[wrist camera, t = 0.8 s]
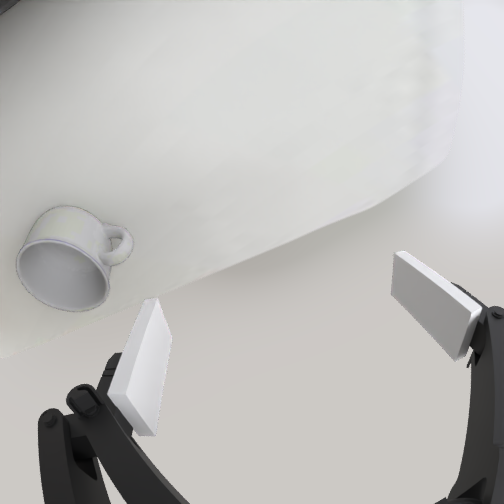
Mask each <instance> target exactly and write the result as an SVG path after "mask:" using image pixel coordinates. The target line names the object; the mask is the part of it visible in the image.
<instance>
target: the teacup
mask: <svg viewBox="0 0 504 504" xmlns="http://www.w3.org/2000/svg"><path fill="white" fill-rule="evenodd" d="M110 238H119V239H122V241H121V243H120V244H119V246H118V247H117V248H116V249H115V250H113V251H112V244H111V240H110ZM133 246H134V241H133V238H132V236H131V234H130V233H129V232H128V231H127V230H126V229H125V228H123V227H120V226H110V225H109V224H108V223H103V224H102V223H101V222H100V221H99V220H98V219H97V218H96V217H95V216H93V215H92V214H91V213H89V212H87V211H85V210H83V209H80V208H77V207H71V206H61V207H56V208H53V209H51V210H49V211H47V212H45V213H44V214H43V215H42V216H41V217H40V218H39V219H38V220H37V221H36V223H35V224H34V226H33V227H32V229H31V231H30V233H29V235H28V237H27V239H26V241H25V243H24V245H23V247H22V249H21V250H20V252H19V253H18V256H17V259H16V271H17V274H18V277H19V279H20V281H21V283H22V284H23V286H24V287H25V288H26V290H27V291H28V292H29V293H30V294H31V295H33V296H34V297H35V298H36V299H37V300H39V301H41V302H42V303H44V304H46V305H48V306H51V307H53V308H56V309H59V310H64V311H69V312H83V311H89V310H92V309H94V308H96V307H98V306H100V305H101V304H102V303H103V302H104V301H105V300H106V298H107V297H108V294H109V289H110V285H109V278H110V271H111V266H115V265H118V264H121V263H122V262H124V261H125V260H126V259H127V258H128V257H129V255H130V254H131V252H132V250H133Z"/></svg>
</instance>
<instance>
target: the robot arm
mask: <svg viewBox="0 0 504 504" xmlns="http://www.w3.org/2000/svg"><path fill="white" fill-rule="evenodd" d="M18 1H19V0H0V14H1V13H3V12H5V11H6V10H8V9H9V8H10V7H12V6H13V5H14V4H16V3H17V2H18ZM391 295H392V296H393V297H394V298H395V299H396V300H397V301H398V302H399V303H400V304H401V305H402V306H403V307H404V308H405V309H406V310H407V311H408V312H409V313H410V314H411V315H412V316H413V317H414V318H415V319H416V320H417V321H418V322H419V323H420V324H421V325H422V327H423V328H425V330H426V331H427V332H428V333H429V334H430V335H431V336H432V337H433V338H434V339H435V340H436V341H437V343H439V345H440V346H441V347H442V348H443V349H444V350H445V351H446V352H447V354H448V355H449V356H450V357H451V358H452V359H453V360H454V361H455V362H456V361H457V360H459V359H461V358H463V357H465V356H466V354H467V351H468V349H469V346H470V347H471V348H472V349H473V352H472V354H471V357H470V359H469V362H468V364H467V368H468V367H469V365H470V364H471V395H470V408H469V418H468V427H467V434H466V441H465V447H464V453H463V457H462V463H461V467H460V472H459V476H458V479H457V481H456V483H455V484H454V486H453V487H452V489H451V491H450V493H449V496H448V499H446V497H445V498H443V499H442V500H440V501H438V502H437V503H435V504H504V309H503V308H501V307H498V306H492V307H490V308H488V307H487V306H485V305H484V304H483V303H482V302H480V301H479V300H478V299H477V298H475V297H474V296H471V294H470V293H469V292H466V290H465V289H463V288H462V287H460V286H459V285H457V284H454V283H452V282H451V283H450V282H449V281H447V280H446V279H445V278H443V277H442V276H441V275H439V274H438V273H436V272H435V271H434V270H432V269H431V268H429V267H428V266H427V265H425V264H424V263H422V262H421V261H419V260H418V259H416V258H415V257H413V256H412V255H411V254H409V253H407V252H406V251H405V250H404V251H399V252H395V253H394V261H393V276H392V287H391ZM172 340H173V338H172V335H171V333H170V330H169V328H168V325H167V322H166V319H165V317H164V314H163V311H162V308H161V306H160V303H159V300H158V298H152V299H145V300H144V302H143V304H142V307H141V309H140V311H139V314H138V316H137V318H136V321H135V323H134V325H133V328H132V330H131V333H130V335H129V338H128V340H127V343H126V345H125V348H124V350H123V353H115V354H114V355H113V356H112V357H111V358H110V359H109V360H108V362H107V364H106V367H105V370H104V372H103V374H102V377H101V379H100V382H99V384H98V387H97V389H96V390H95V389H94V387H93V386H91V385H89V384H81V385H79V386H76V387H74V388H73V389H72V390H71V391H70V392H69V393H68V395H67V398H66V403H67V405H68V406H69V408H70V409H71V410H72V411H73V412H74V414H69V415H65V416H64V415H63V414H62V413H61V412H60V411H59V410H58V409H55V408H53V409H48V410H46V411H45V412H43V414H41V416H40V418H39V421H38V448H39V463H40V474H41V483H42V490H43V497H44V502H45V504H111V503H110V500H109V497H108V494H107V491H106V488H105V484H104V481H103V478H102V474H101V470H100V467H99V463H98V459H97V457H98V458H99V460H100V462H101V464H102V466H103V467H104V469H105V471H106V472H107V474H108V476H109V477H110V479H111V480H112V482H113V483H114V485H115V487H116V488H117V490H118V491H119V493H120V494H121V495H122V497H123V499H124V500H125V501H126V503H127V504H190V503H189V502H188V501H187V500H185V499H184V498H183V496H182V495H181V494H180V493H179V492H178V491H177V490H176V489H175V488H174V487H173V486H172V485H171V484H170V483H169V482H168V480H167V479H165V477H164V476H163V475H162V474H161V473H160V471H159V470H158V469H157V468H156V467H155V465H153V463H152V462H151V461H150V459H149V458H148V457H147V456H146V454H145V453H144V452H143V450H142V449H141V448H140V447H139V445H138V444H137V443H136V441H135V440H134V439H133V438H132V431H133V429H134V430H135V432H136V433H137V434H138V435H139V436H156V432H157V424H158V418H159V412H160V405H161V399H162V393H163V388H164V381H165V376H166V371H167V366H168V360H169V355H170V350H171V345H172Z"/></svg>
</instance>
